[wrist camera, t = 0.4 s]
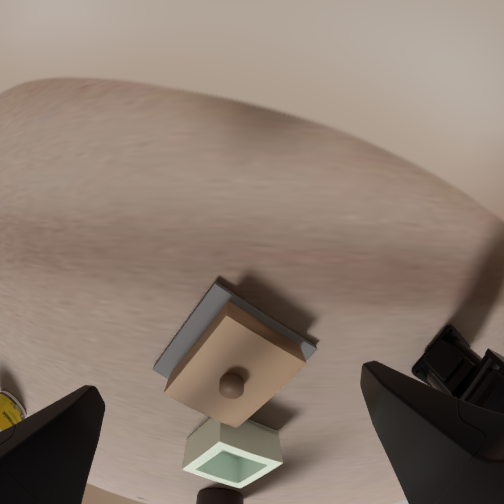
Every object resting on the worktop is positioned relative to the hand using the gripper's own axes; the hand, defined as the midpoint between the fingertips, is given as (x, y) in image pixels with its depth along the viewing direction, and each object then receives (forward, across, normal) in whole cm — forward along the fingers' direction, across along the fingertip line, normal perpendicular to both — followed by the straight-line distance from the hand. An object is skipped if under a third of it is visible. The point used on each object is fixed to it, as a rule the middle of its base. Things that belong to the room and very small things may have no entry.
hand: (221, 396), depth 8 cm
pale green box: (+13, +3, +18) cm, 23 cm away
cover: (+12, +1, +8) cm, 15 cm away
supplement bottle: (+13, +37, +16) cm, 42 cm away
